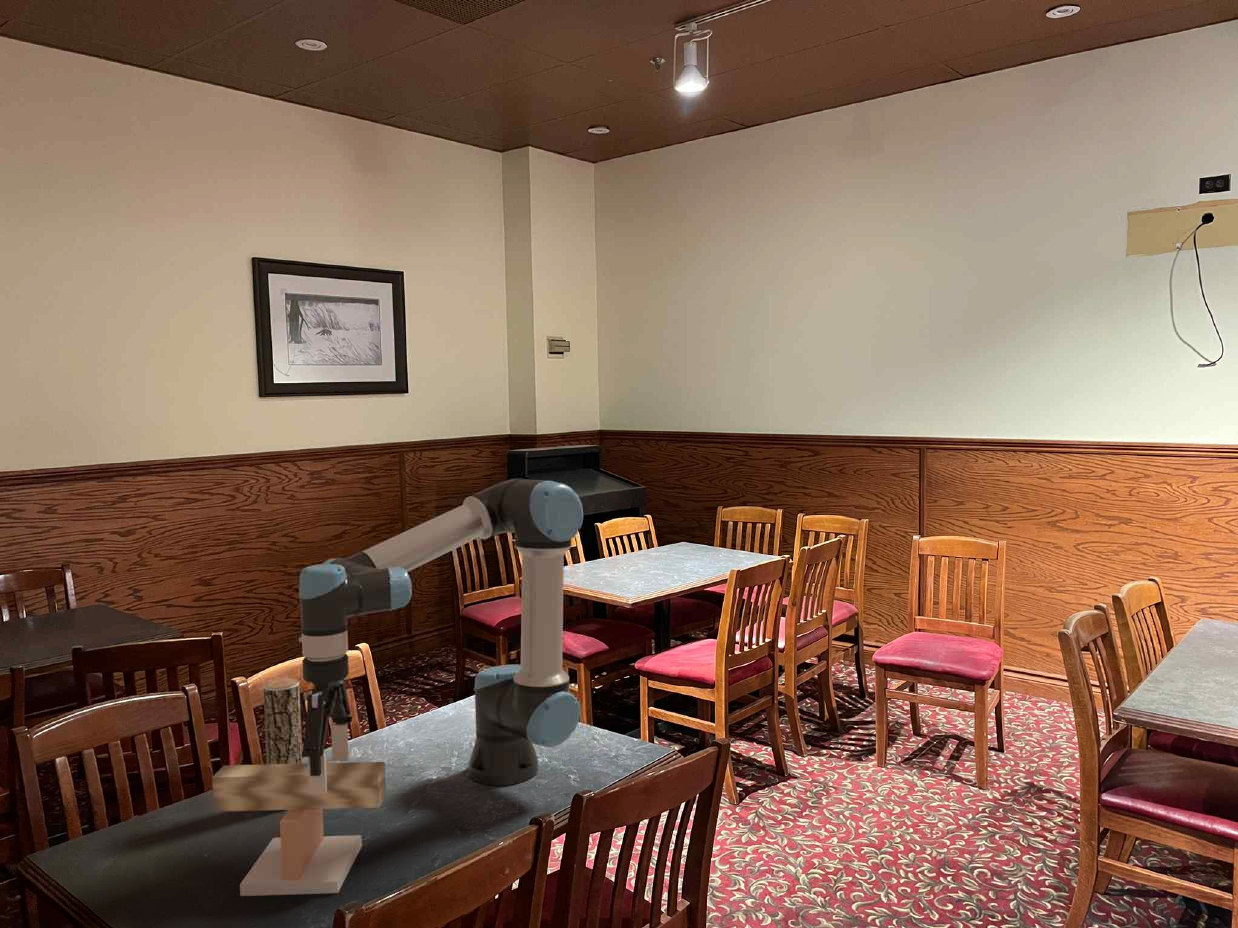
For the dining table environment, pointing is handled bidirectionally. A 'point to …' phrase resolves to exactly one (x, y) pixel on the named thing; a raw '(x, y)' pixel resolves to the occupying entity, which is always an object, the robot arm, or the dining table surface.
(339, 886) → the balance stand
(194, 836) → the dining table surface
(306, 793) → the birch beam
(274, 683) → the bark-covered stump
